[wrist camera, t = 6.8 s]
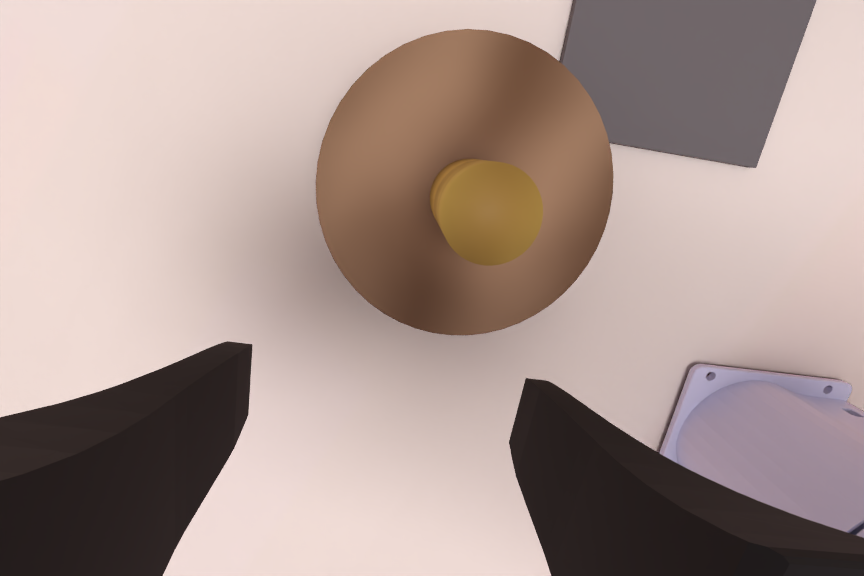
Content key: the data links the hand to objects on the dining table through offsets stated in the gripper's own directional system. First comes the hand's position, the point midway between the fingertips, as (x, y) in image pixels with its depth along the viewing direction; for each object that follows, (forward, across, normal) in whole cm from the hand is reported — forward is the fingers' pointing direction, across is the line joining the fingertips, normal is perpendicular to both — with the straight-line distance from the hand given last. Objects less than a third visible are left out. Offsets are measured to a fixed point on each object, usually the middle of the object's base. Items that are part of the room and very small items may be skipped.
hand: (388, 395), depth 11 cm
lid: (+7, -2, -5) cm, 9 cm away
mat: (+10, -10, -13) cm, 19 cm away
